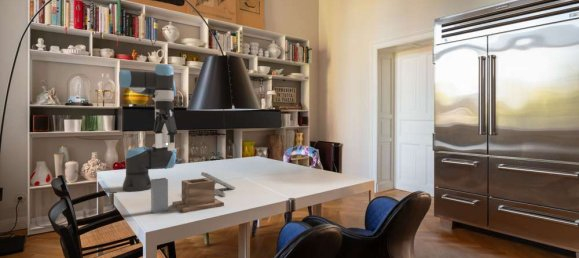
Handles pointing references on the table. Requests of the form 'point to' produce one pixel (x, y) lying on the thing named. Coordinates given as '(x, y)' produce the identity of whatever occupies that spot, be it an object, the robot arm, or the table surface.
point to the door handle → (218, 183)
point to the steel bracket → (159, 195)
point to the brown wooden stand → (197, 195)
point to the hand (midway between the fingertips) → (164, 149)
